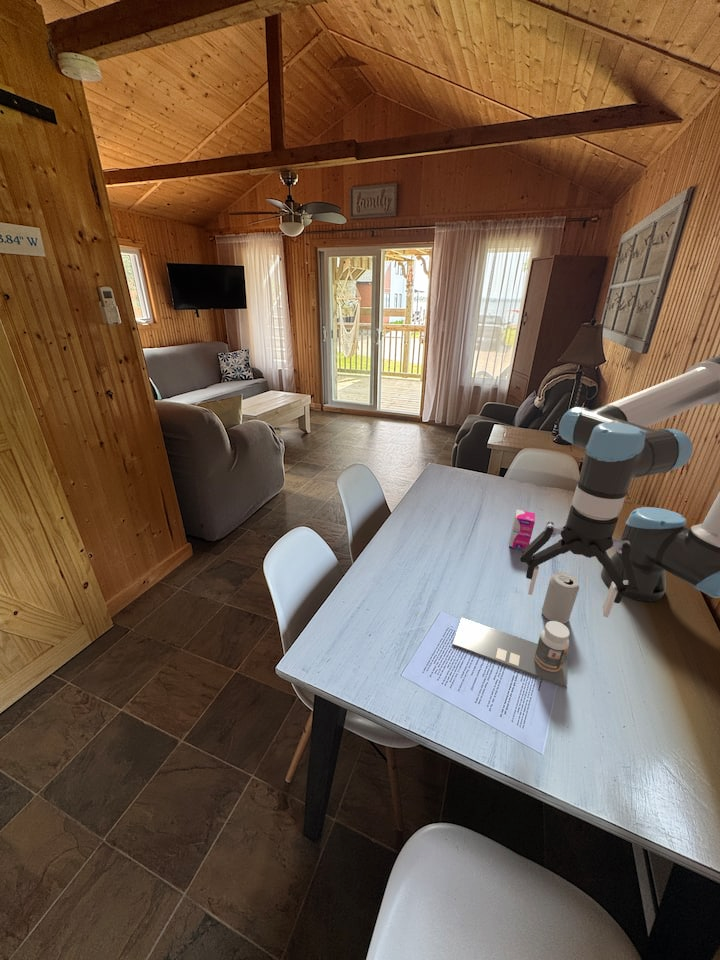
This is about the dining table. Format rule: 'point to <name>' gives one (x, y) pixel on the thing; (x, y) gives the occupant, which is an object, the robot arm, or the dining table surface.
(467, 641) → the slate board
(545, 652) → the pill bottle
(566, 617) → the beverage can
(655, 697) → the dining table surface
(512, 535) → the supplement box
